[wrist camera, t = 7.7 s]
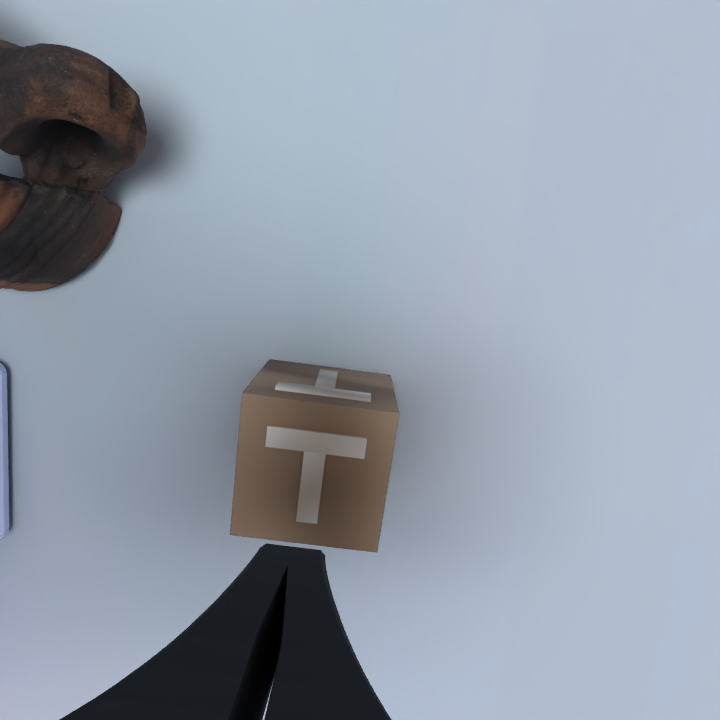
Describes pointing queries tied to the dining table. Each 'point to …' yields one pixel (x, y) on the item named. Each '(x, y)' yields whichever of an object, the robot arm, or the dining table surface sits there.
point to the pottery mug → (60, 160)
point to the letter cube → (314, 456)
